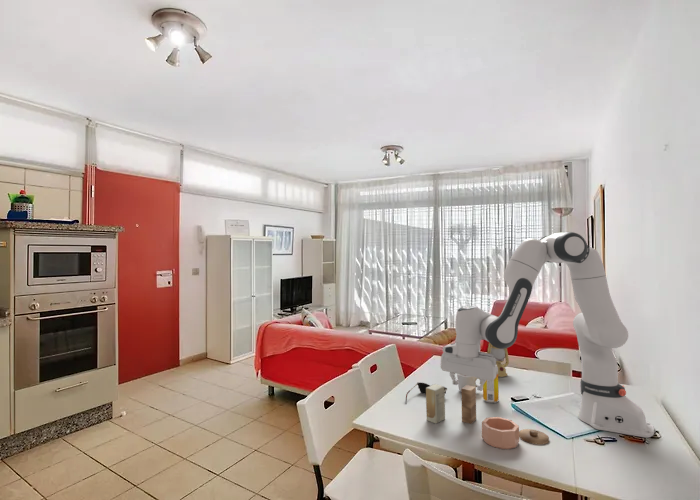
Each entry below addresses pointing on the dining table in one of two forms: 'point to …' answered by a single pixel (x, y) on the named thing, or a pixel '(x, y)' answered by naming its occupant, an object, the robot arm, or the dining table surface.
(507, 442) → the jar
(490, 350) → the lantern
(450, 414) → the dining table surface
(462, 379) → the cup
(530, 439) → the jar lid
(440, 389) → the skincare box
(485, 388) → the beer can
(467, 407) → the brown wooden block
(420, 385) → the sunglasses
